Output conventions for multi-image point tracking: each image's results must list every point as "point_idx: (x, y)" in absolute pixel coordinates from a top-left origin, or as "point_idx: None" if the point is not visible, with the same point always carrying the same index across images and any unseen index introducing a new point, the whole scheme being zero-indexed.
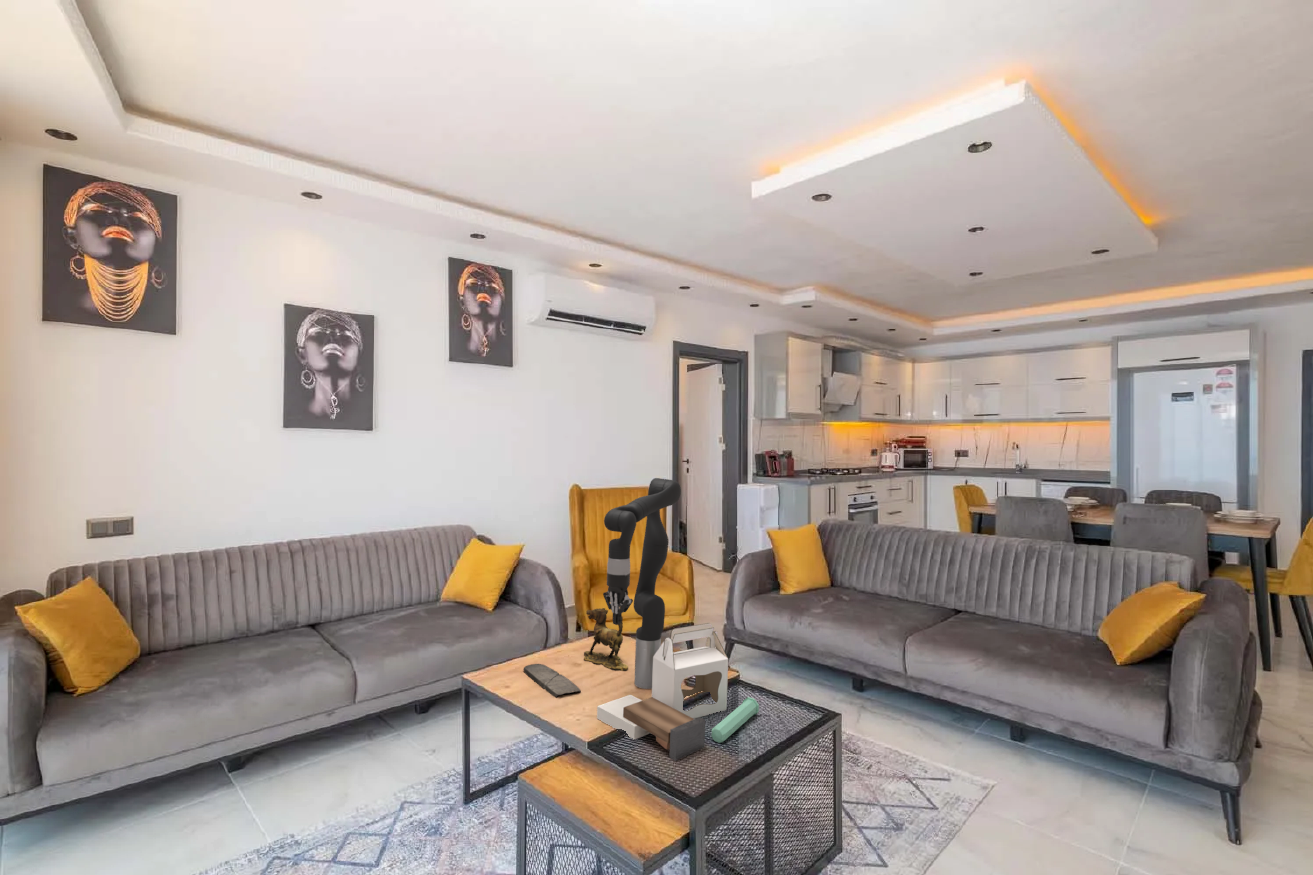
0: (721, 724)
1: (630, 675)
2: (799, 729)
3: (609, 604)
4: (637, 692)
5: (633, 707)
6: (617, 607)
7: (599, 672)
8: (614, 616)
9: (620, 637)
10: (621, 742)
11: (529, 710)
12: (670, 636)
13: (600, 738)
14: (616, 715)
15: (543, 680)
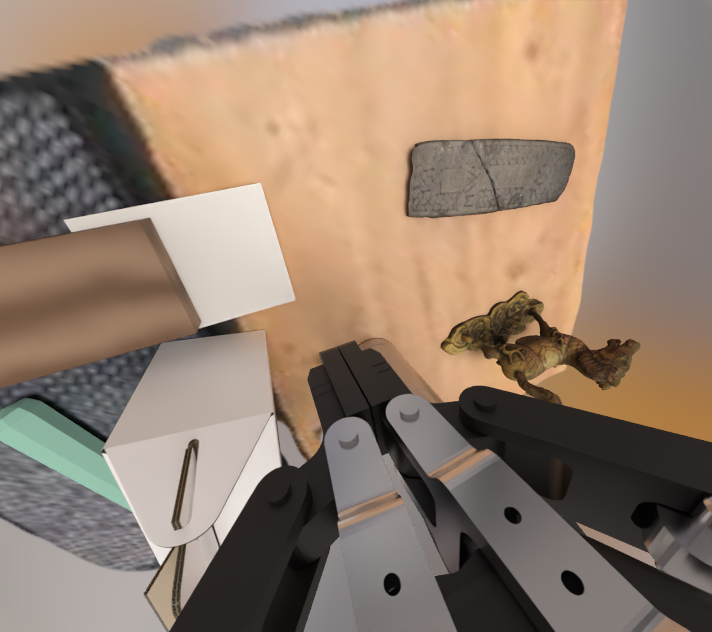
0: (17, 440)
1: (420, 345)
2: (59, 546)
3: (518, 432)
4: (348, 330)
5: (130, 252)
6: (340, 515)
7: (463, 296)
8: (358, 384)
9: (510, 374)
10: (74, 171)
11: (386, 17)
12: (180, 555)
13: (121, 123)
14: (172, 205)
15: (494, 148)
